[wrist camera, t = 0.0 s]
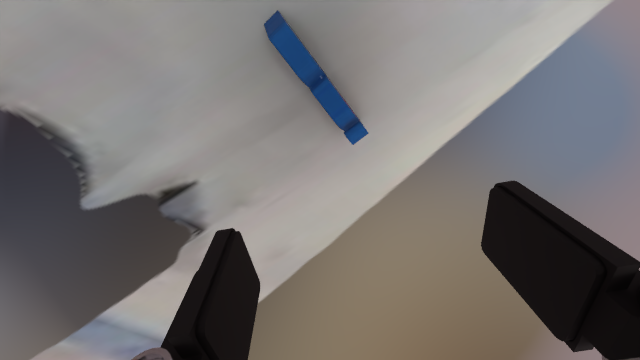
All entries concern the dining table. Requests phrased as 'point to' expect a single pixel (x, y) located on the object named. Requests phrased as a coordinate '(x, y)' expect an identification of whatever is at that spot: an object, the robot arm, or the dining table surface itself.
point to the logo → (313, 77)
